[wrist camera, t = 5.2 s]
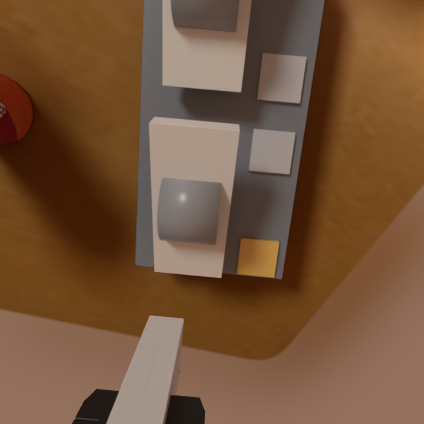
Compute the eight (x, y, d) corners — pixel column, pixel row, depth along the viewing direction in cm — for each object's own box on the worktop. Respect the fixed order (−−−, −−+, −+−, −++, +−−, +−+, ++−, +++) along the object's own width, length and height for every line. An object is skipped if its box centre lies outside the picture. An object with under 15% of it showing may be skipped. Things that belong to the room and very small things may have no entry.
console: (149, 245, 29) (133, 268, 24) (162, -53, 24) (145, -113, 18) (271, 256, 29) (283, 282, 24) (313, -40, 23) (342, -96, 18)
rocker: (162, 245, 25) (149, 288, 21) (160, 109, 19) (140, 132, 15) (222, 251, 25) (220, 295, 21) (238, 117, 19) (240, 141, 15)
